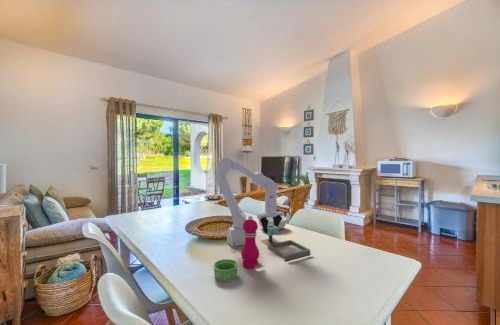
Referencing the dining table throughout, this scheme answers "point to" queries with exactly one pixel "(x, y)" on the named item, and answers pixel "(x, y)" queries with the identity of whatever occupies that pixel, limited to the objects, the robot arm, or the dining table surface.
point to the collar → (271, 230)
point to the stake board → (269, 241)
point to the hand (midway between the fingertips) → (270, 231)
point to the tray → (292, 255)
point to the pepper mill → (250, 244)
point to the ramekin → (225, 269)
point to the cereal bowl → (281, 224)
